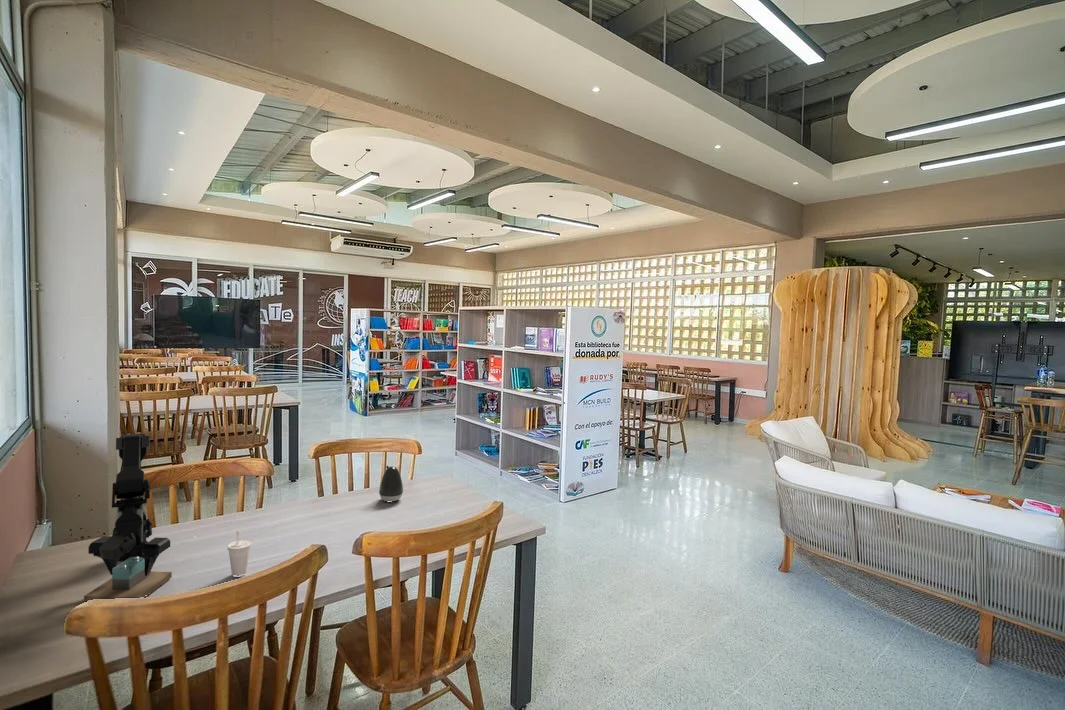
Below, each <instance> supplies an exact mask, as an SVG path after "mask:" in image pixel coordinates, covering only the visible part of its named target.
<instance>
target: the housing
mask: <svg viewBox="0 0 1065 710" xmlns="http://www.w3.org/2000/svg"><path fill="white" fill-rule="evenodd" d="M111 578H112V590H130V589H131V588H133V587H134V586H136V585H137V584H138V583H140V582H141V581H143V580H144V579H145V578H147V576H145V559H144V558H143V557H138V556H137V557H130V558H128V559H127V560H125V561H122V562H121V563H119V564H117V566H116V567H114V568H112V575H111Z"/></svg>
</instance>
